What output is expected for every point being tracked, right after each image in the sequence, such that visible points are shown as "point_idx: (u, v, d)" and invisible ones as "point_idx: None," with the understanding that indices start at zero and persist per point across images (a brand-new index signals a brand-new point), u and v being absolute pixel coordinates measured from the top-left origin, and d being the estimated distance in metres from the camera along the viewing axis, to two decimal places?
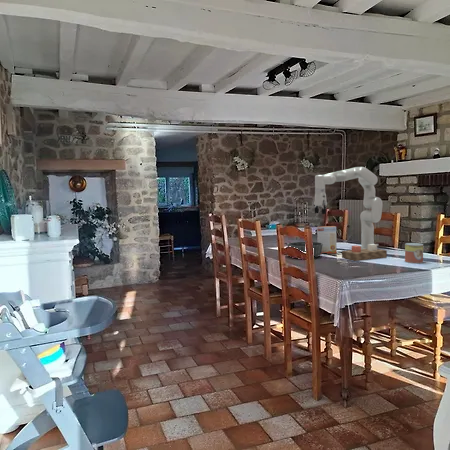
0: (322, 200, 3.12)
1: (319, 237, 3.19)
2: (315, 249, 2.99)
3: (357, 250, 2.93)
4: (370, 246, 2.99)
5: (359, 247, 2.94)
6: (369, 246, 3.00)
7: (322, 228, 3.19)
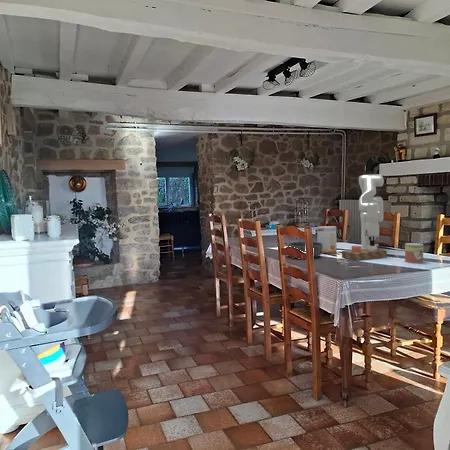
0: None
1: (319, 237, 3.19)
2: (315, 249, 2.99)
3: (357, 250, 2.93)
4: (370, 247, 2.99)
5: (359, 247, 2.94)
6: (369, 247, 3.00)
7: (322, 228, 3.19)
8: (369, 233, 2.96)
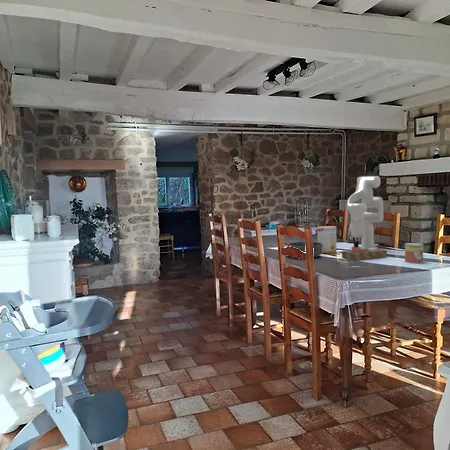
0: None
1: (319, 237, 3.19)
2: (315, 249, 2.99)
3: (357, 251, 2.94)
4: (370, 250, 2.99)
5: (359, 248, 2.94)
6: None
7: (322, 228, 3.19)
8: (353, 234, 2.91)
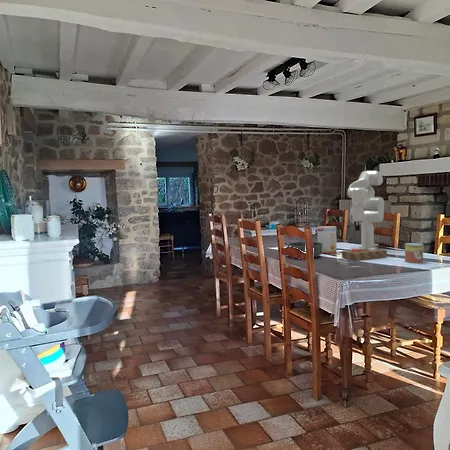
0: None
1: (319, 237, 3.19)
2: (315, 249, 2.99)
3: None
4: (370, 250, 2.99)
5: (359, 250, 2.94)
6: None
7: (322, 228, 3.19)
8: (354, 218, 2.97)
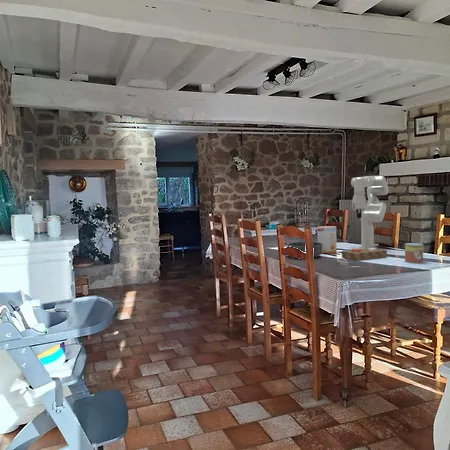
0: None
1: (319, 237, 3.19)
2: (315, 249, 2.99)
3: None
4: (370, 250, 2.99)
5: (359, 250, 2.94)
6: None
7: (322, 228, 3.19)
8: (356, 206, 3.12)
